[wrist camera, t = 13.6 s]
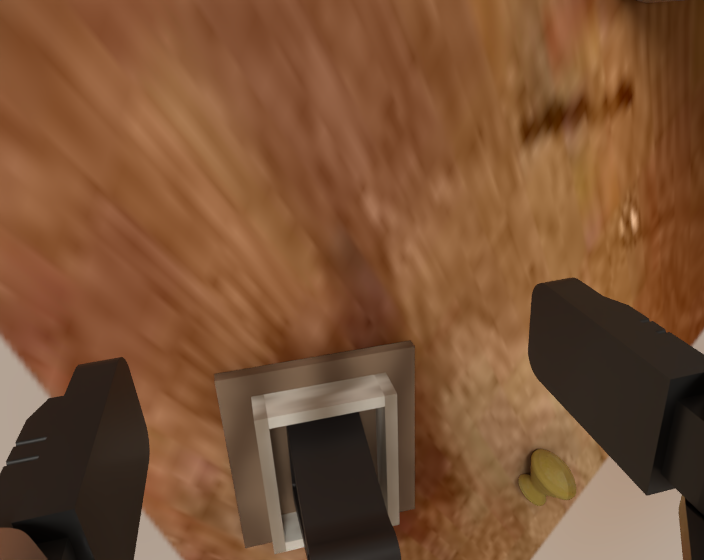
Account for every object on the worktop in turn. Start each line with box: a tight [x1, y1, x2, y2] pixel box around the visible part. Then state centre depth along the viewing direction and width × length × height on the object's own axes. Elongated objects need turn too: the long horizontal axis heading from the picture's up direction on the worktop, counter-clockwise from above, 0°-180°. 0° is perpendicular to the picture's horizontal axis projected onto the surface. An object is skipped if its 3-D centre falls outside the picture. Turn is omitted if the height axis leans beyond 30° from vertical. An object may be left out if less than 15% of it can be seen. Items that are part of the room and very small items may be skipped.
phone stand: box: [286, 412, 401, 560], centre depth 42 cm, size 9×6×12 cm, turn 1°
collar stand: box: [214, 341, 415, 554], centre depth 46 cm, size 16×18×4 cm
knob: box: [518, 449, 576, 506], centre depth 53 cm, size 5×5×5 cm
